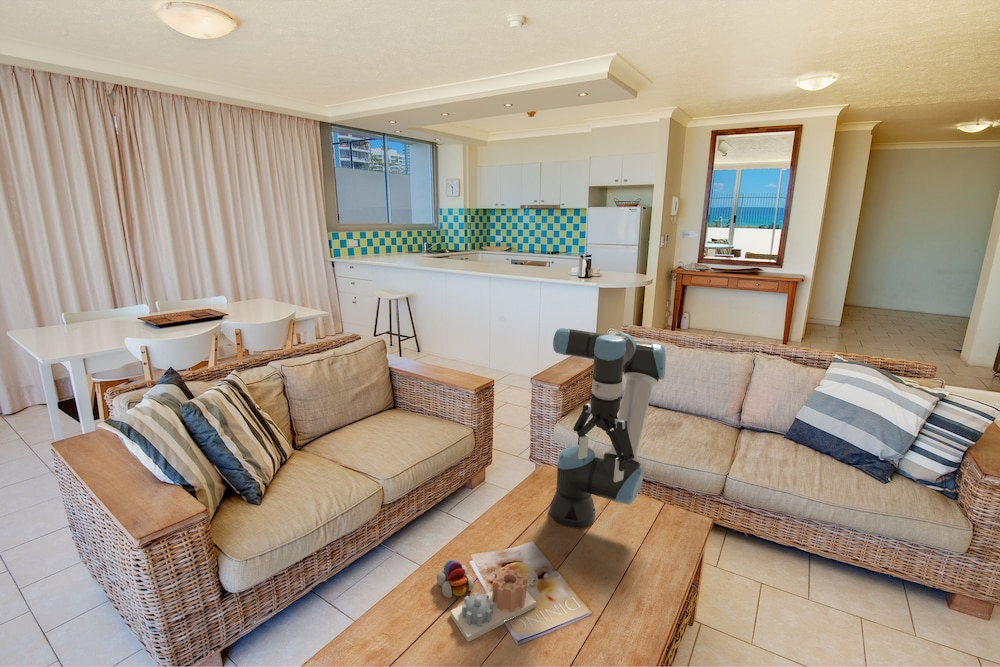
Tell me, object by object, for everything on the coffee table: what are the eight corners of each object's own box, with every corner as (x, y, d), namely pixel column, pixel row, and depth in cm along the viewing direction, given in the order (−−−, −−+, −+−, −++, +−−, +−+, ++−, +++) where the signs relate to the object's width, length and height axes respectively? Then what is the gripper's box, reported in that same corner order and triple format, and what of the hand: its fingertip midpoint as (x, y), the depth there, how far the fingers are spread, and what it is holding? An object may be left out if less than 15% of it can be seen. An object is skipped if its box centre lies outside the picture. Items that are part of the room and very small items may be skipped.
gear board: (450, 615, 119) (450, 595, 118) (516, 584, 130) (516, 565, 128) (467, 642, 112) (468, 621, 111) (535, 606, 123) (536, 587, 121)
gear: (486, 594, 124) (487, 575, 123) (513, 581, 129) (514, 563, 127) (504, 617, 117) (505, 597, 116) (531, 603, 122) (532, 583, 120)
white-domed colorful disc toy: (446, 605, 123) (446, 581, 121) (433, 579, 131) (433, 557, 129) (476, 594, 126) (477, 571, 125) (462, 570, 135) (462, 548, 133)
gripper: (563, 382, 132) (559, 452, 137) (632, 415, 111) (624, 495, 117) (583, 378, 135) (579, 445, 141) (654, 409, 115) (645, 486, 121)
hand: (599, 468), depth 129 cm, fingers open, 13 cm apart
